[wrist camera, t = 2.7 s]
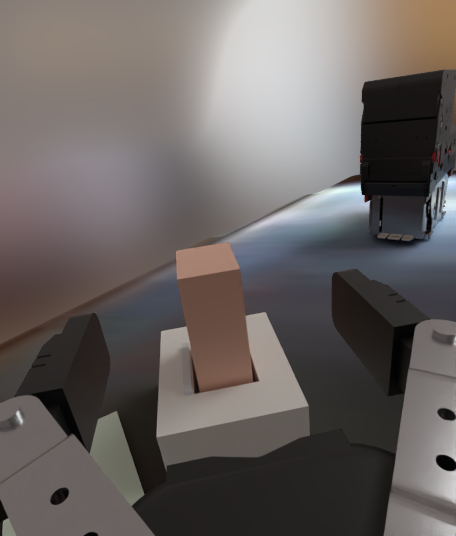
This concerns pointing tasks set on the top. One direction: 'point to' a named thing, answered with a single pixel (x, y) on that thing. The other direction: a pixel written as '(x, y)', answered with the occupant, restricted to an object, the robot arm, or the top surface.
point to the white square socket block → (228, 402)
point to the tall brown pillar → (215, 316)
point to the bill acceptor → (407, 152)
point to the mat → (109, 461)
